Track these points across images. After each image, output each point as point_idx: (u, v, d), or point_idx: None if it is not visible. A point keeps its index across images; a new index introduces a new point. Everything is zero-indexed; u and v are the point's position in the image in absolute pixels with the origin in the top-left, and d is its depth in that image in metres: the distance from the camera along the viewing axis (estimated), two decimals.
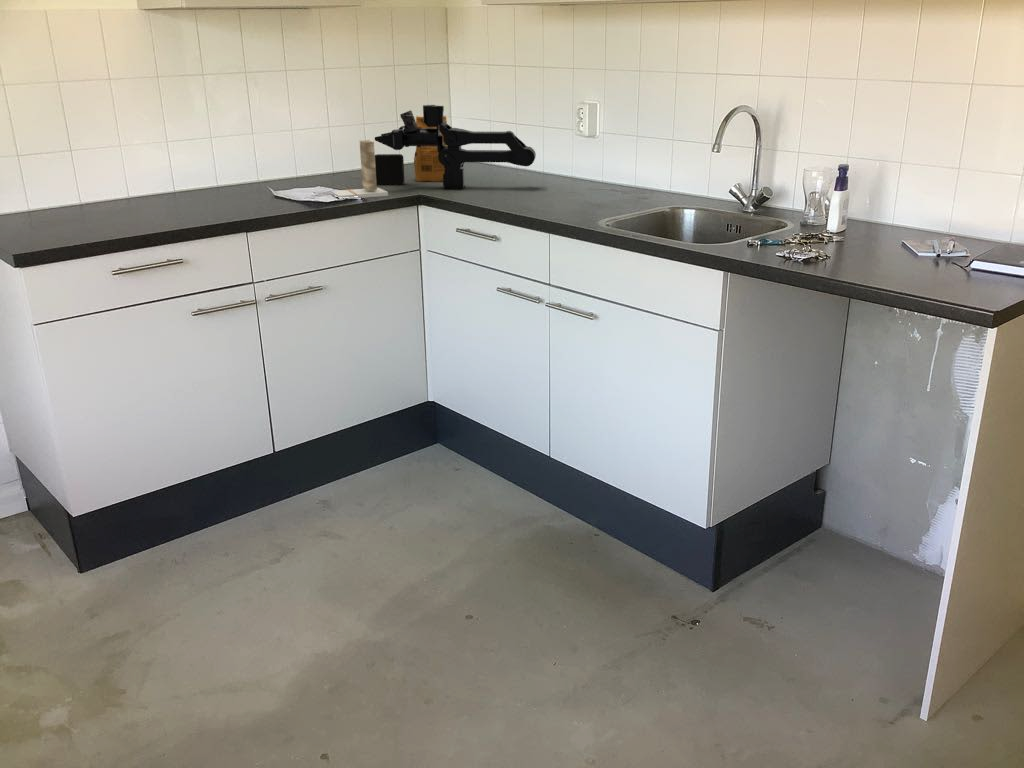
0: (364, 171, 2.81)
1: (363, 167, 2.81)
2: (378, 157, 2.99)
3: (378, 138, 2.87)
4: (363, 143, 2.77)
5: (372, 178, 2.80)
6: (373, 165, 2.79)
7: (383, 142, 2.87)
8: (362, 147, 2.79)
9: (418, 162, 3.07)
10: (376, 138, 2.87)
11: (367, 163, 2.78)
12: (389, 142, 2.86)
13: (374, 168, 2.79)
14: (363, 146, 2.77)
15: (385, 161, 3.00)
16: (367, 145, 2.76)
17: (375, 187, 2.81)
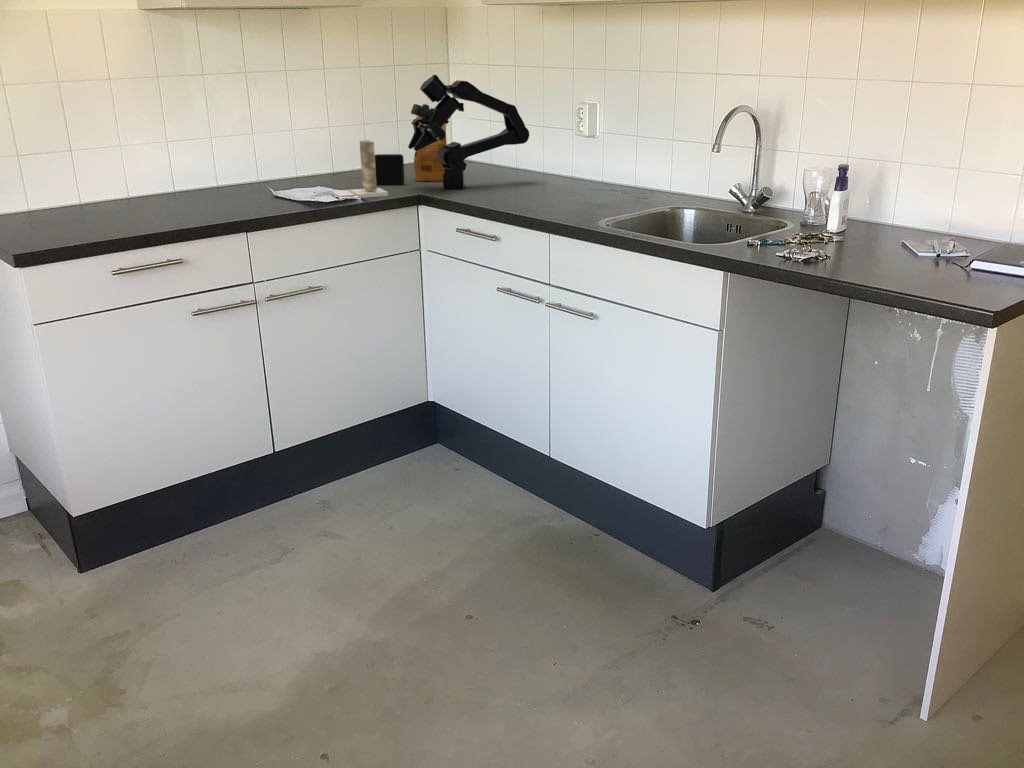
0: (364, 171, 2.81)
1: (363, 167, 2.81)
2: (378, 157, 2.99)
3: (417, 146, 2.82)
4: (363, 143, 2.77)
5: (372, 178, 2.80)
6: (373, 165, 2.79)
7: (424, 145, 2.83)
8: (362, 147, 2.79)
9: (418, 162, 3.07)
10: (416, 148, 2.83)
11: (367, 163, 2.78)
12: (428, 140, 2.82)
13: (374, 168, 2.79)
14: (363, 146, 2.77)
15: (385, 161, 3.00)
16: (367, 145, 2.76)
17: (375, 187, 2.81)
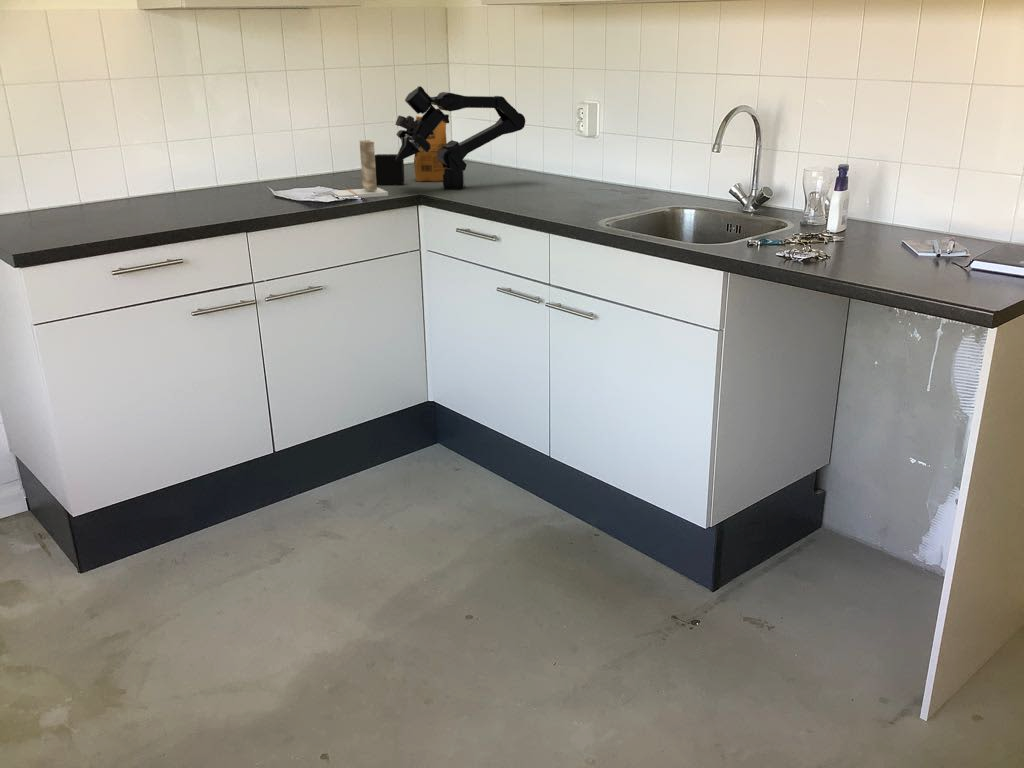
0: (364, 171, 2.81)
1: (363, 167, 2.81)
2: (378, 157, 2.99)
3: (399, 156, 2.84)
4: (363, 143, 2.77)
5: (372, 178, 2.80)
6: (373, 165, 2.79)
7: (406, 156, 2.84)
8: (362, 147, 2.79)
9: (418, 162, 3.07)
10: (398, 158, 2.84)
11: (367, 163, 2.78)
12: (410, 151, 2.84)
13: (374, 168, 2.79)
14: (363, 146, 2.77)
15: (385, 161, 3.00)
16: (367, 145, 2.76)
17: (375, 187, 2.81)
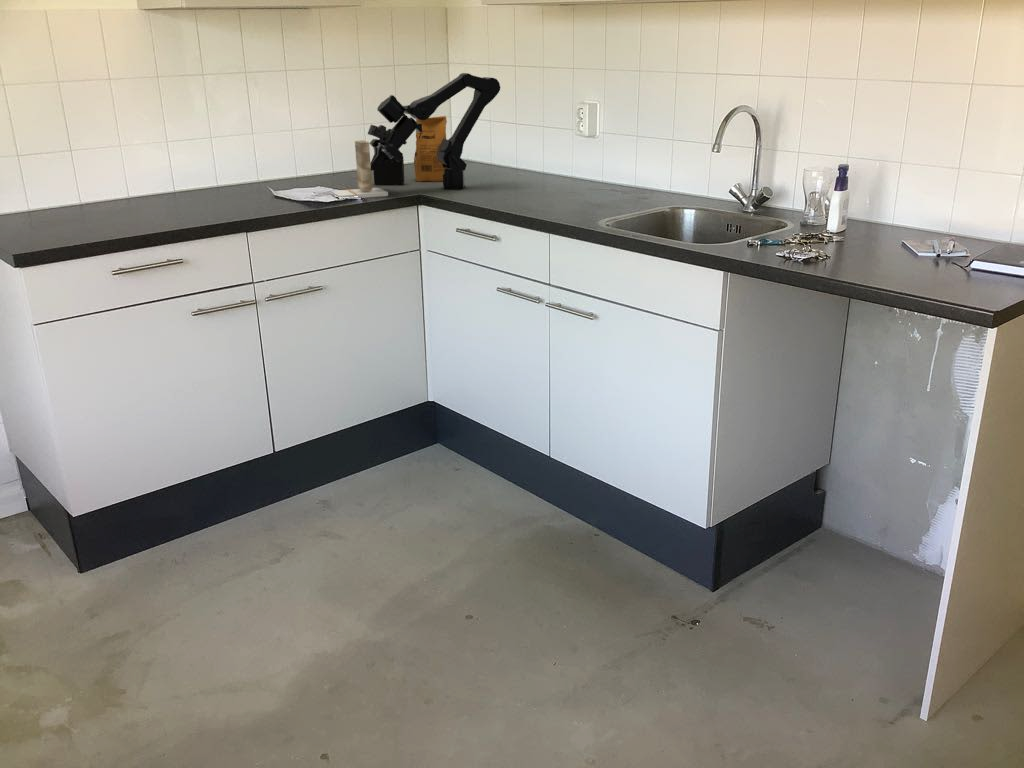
0: (359, 171, 2.80)
1: (358, 167, 2.81)
2: None
3: (372, 166, 2.81)
4: (358, 143, 2.76)
5: (367, 178, 2.79)
6: (368, 165, 2.78)
7: (378, 165, 2.81)
8: (357, 148, 2.78)
9: (418, 162, 3.07)
10: None
11: (362, 163, 2.77)
12: (383, 160, 2.81)
13: (369, 168, 2.79)
14: (358, 146, 2.77)
15: None
16: (362, 145, 2.75)
17: (370, 187, 2.81)
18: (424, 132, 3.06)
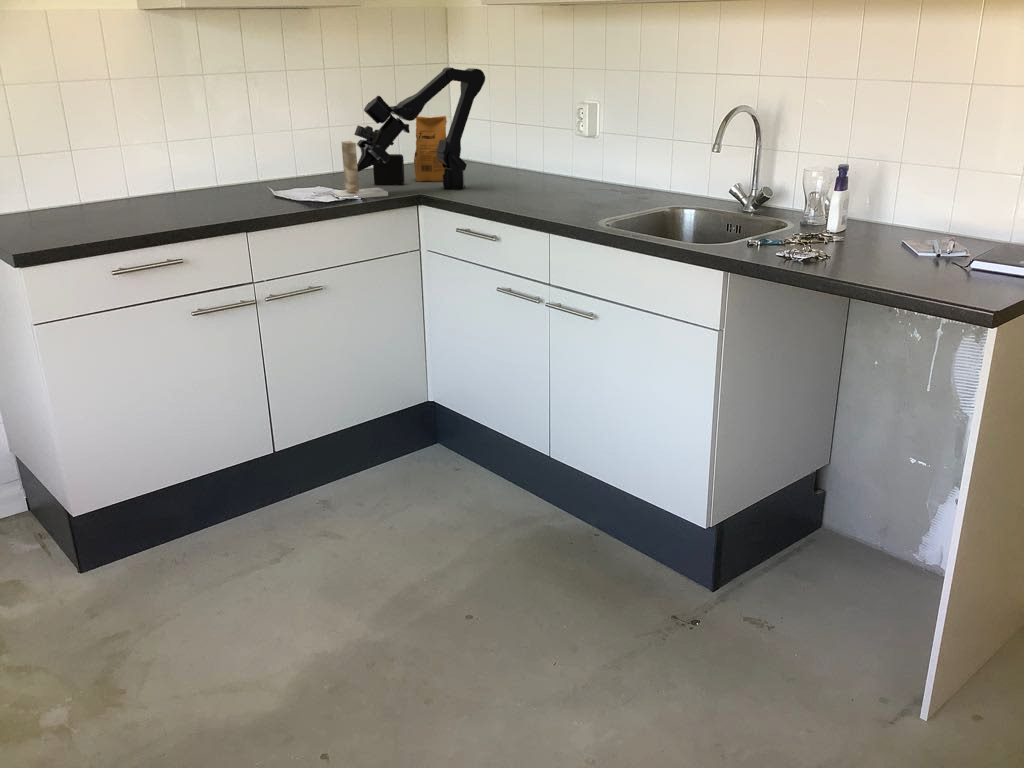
0: (346, 172, 2.79)
1: (345, 168, 2.79)
2: None
3: (359, 167, 2.79)
4: (345, 144, 2.74)
5: (354, 179, 2.78)
6: (355, 166, 2.77)
7: (365, 166, 2.80)
8: (344, 148, 2.76)
9: (418, 162, 3.07)
10: None
11: (349, 164, 2.76)
12: (370, 161, 2.79)
13: (356, 169, 2.77)
14: (345, 147, 2.75)
15: None
16: (349, 146, 2.74)
17: (357, 188, 2.79)
18: (424, 132, 3.06)
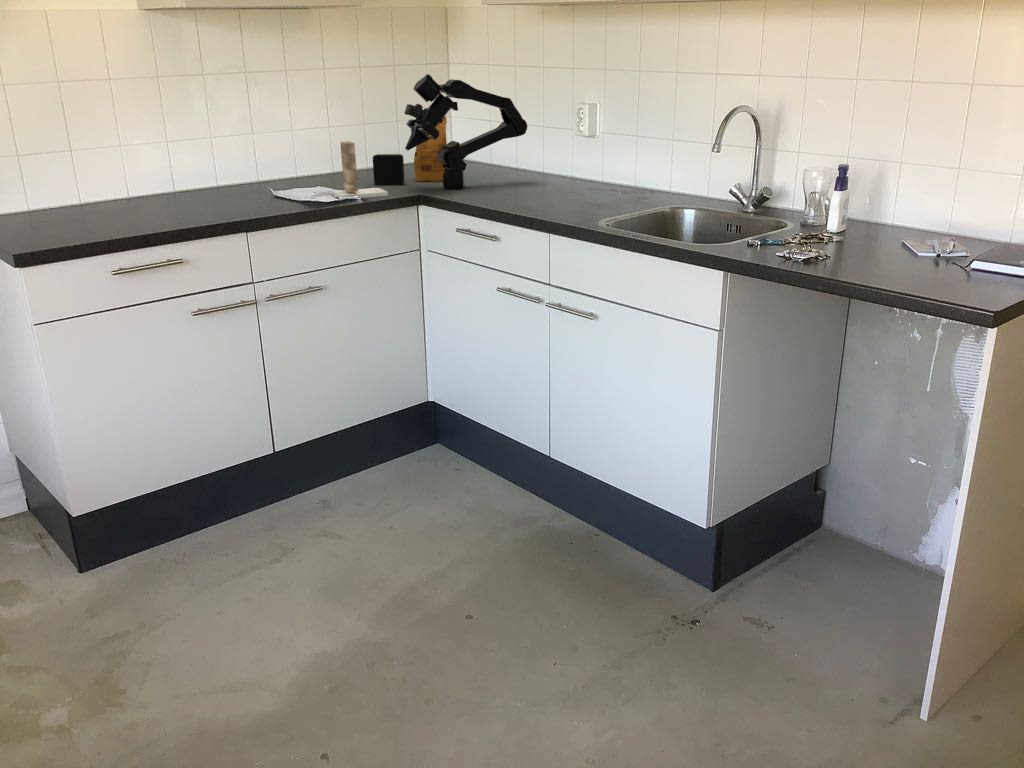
0: (345, 172, 2.78)
1: (344, 168, 2.79)
2: (378, 157, 2.99)
3: (409, 145, 2.84)
4: (344, 144, 2.74)
5: (353, 179, 2.78)
6: (354, 166, 2.76)
7: (416, 144, 2.84)
8: (343, 148, 2.76)
9: (418, 162, 3.07)
10: (408, 147, 2.84)
11: (348, 164, 2.75)
12: (420, 139, 2.84)
13: (355, 169, 2.77)
14: (344, 147, 2.75)
15: (385, 161, 3.00)
16: (348, 146, 2.74)
17: (356, 188, 2.79)
18: None
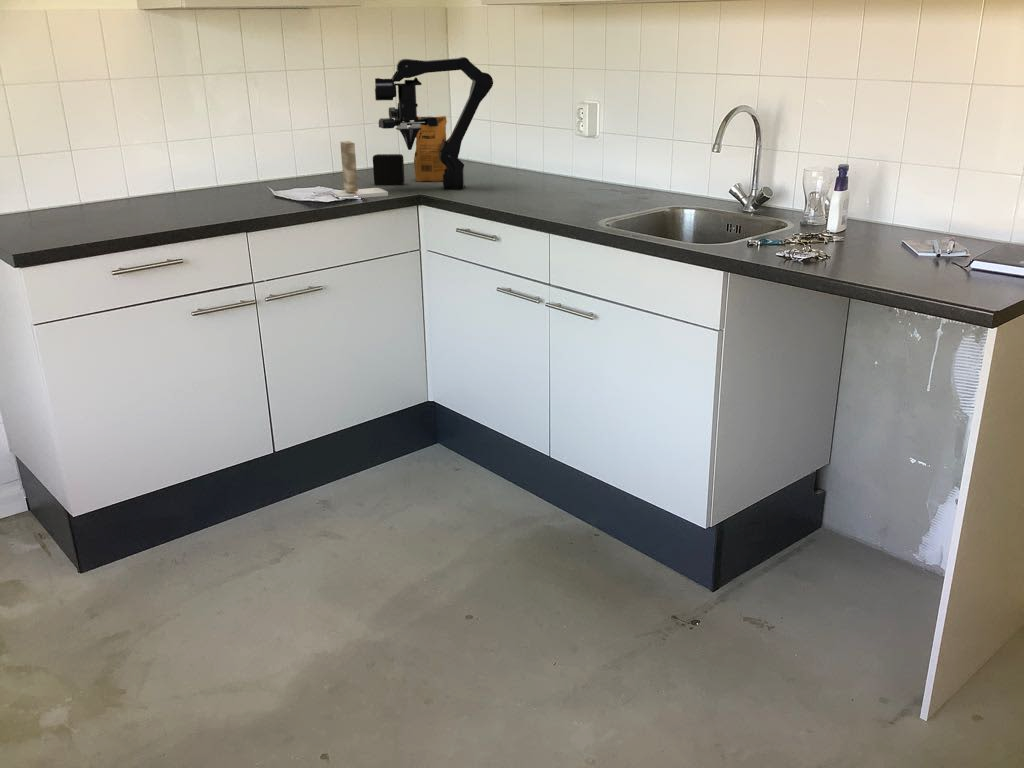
0: (345, 172, 2.78)
1: (344, 168, 2.79)
2: (378, 157, 2.99)
3: None
4: (344, 144, 2.74)
5: (353, 179, 2.78)
6: (354, 166, 2.76)
7: (406, 140, 2.86)
8: (343, 148, 2.76)
9: (418, 162, 3.07)
10: (407, 147, 2.88)
11: (348, 164, 2.75)
12: None
13: (355, 169, 2.77)
14: (344, 147, 2.75)
15: (385, 161, 3.00)
16: (348, 146, 2.74)
17: (356, 188, 2.79)
18: (424, 132, 3.06)
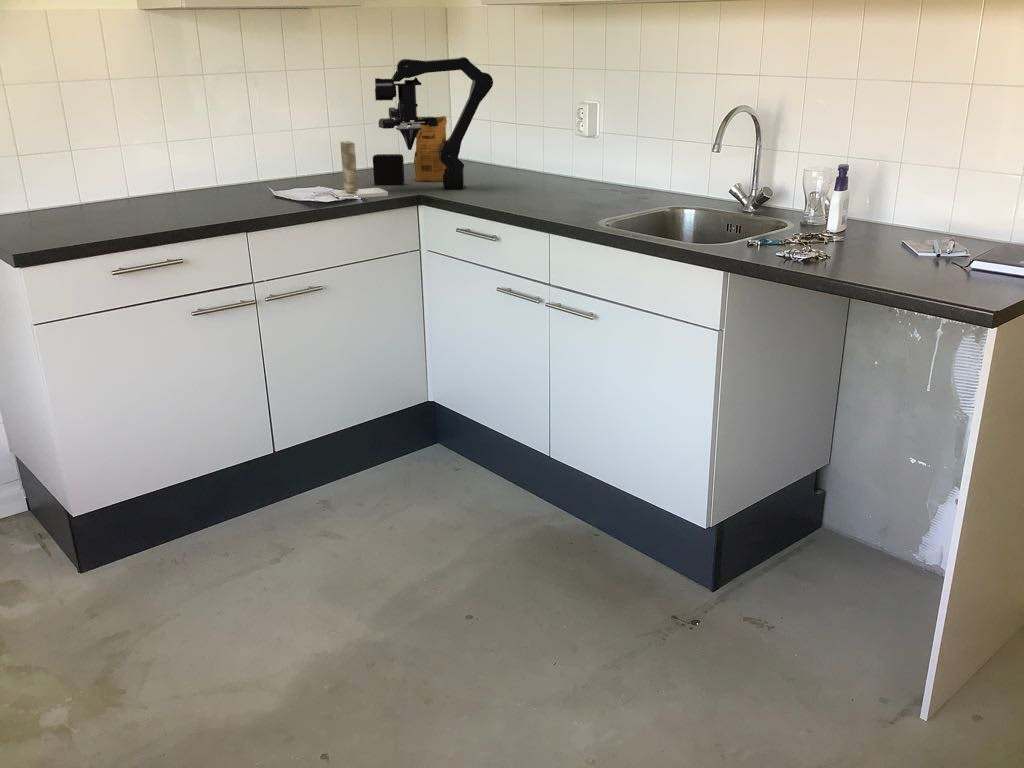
0: (345, 172, 2.78)
1: (344, 168, 2.79)
2: (378, 157, 2.99)
3: None
4: (344, 144, 2.74)
5: (353, 179, 2.78)
6: (354, 166, 2.76)
7: (406, 140, 2.86)
8: (343, 148, 2.76)
9: (418, 162, 3.07)
10: (407, 147, 2.88)
11: (348, 164, 2.75)
12: None
13: (355, 169, 2.77)
14: (344, 147, 2.75)
15: (385, 161, 3.00)
16: (348, 146, 2.74)
17: (356, 188, 2.79)
18: (424, 132, 3.06)
